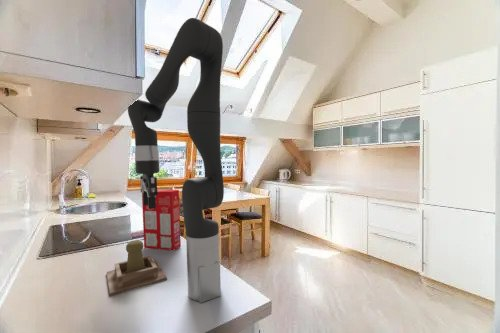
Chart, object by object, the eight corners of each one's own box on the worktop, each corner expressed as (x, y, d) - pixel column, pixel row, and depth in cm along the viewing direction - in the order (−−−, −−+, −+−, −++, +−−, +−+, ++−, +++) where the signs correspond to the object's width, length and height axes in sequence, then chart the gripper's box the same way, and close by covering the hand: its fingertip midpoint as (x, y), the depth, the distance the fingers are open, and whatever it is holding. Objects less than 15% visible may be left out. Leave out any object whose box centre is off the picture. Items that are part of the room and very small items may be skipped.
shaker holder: (167, 279, 79) (166, 267, 79) (109, 295, 70) (109, 282, 70) (155, 262, 92) (155, 252, 92) (106, 274, 83) (106, 263, 83)
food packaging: (180, 245, 109) (178, 189, 108) (174, 250, 104) (172, 191, 103) (151, 243, 112) (149, 189, 111) (144, 247, 107) (141, 191, 106)
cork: (121, 276, 80) (120, 243, 79) (138, 268, 85) (136, 237, 85) (133, 280, 77) (132, 246, 76) (149, 272, 82) (148, 240, 82)
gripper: (164, 158, 80) (166, 208, 80) (153, 159, 92) (155, 202, 92) (139, 159, 76) (141, 211, 76) (131, 160, 87) (133, 205, 88)
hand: (149, 206), depth 84 cm, fingers open, 8 cm apart
